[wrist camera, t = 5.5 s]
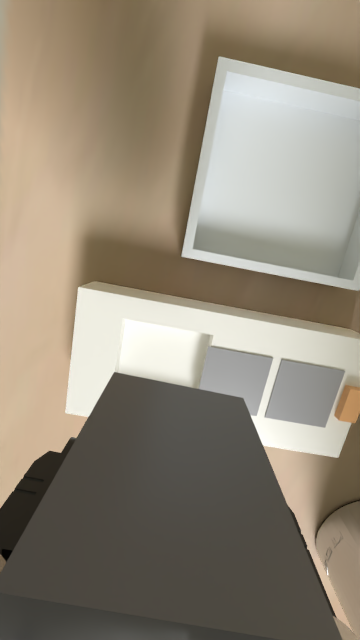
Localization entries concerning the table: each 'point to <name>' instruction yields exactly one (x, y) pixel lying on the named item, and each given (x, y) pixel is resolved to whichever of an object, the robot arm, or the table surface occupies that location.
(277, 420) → the power strip
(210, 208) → the tray
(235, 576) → the block
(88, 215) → the table surface
